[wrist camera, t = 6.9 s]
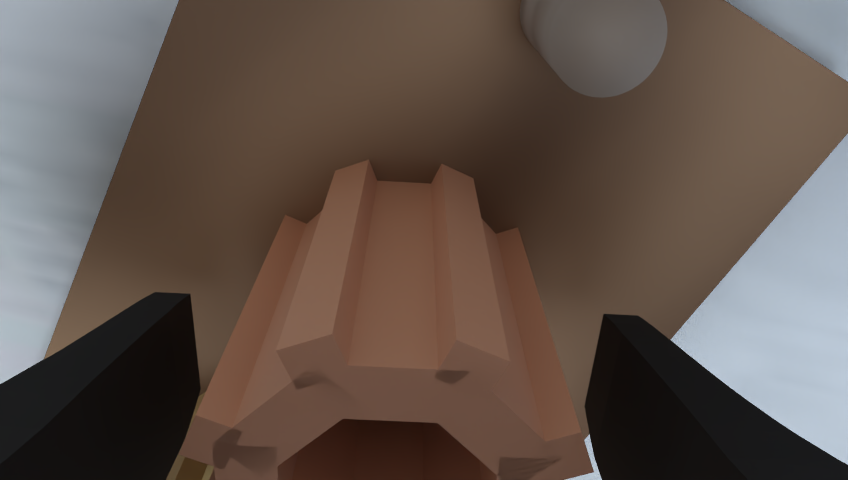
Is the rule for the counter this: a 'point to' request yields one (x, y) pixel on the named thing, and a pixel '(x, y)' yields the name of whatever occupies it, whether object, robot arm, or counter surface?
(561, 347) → the gear board
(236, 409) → the gear
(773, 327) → the counter surface
